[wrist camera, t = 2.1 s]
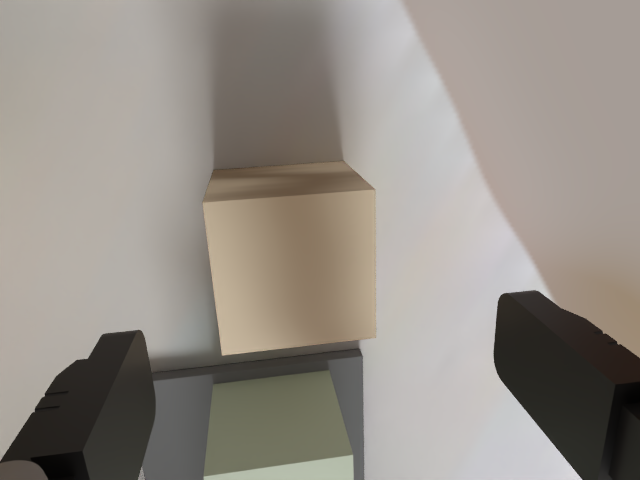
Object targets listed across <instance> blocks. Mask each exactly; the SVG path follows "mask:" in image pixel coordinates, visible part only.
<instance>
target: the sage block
mask: <svg viewBox="0 0 640 480" xmlns="http://www.w3.org/2000/svg"><path fill="white" fill-rule="evenodd" d="M203 477H204V480H354V469H353V453H352V449H351V445H350V442H349V438H348V435H347V431H346V428H345V424H344V421H343V417H342V414H341V410H340V407H339V403H338V399H337V396H336V392H335V389H334V385H333V382H332V378H331V375H330V371H329V370H325V371H317V372H309V373H301V374H293V375H284V376H276V377H268V378H260V379H252V380H243V381H235V382H227V383H219V384H213V390H212V400H211V409H210V419H209V428H208V438H207V448H206V457H205V467H204V476H203Z"/></svg>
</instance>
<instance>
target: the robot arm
mask: <svg viewBox="0 0 640 480" xmlns="http://www.w3.org/2000/svg"><path fill="white" fill-rule="evenodd" d="M494 363H495V367H496V371H497V373H498V375H499V377H500V379H501V381H502V382H503V383H504V384H505V386H506V387H507V388H508V389H509V390H510V392H511V393H512V394H513V395H514V397H515V398H516V399H517V400H518V401H519V403H520V404H521V405H522V406H523V408H524V409H525V410H526V411H527V412H528V414H529V415H530V416H531V417H532V419H533V420H534V421H535V422H536V423H537V425H538V426H539V427H540V428H541V430H542V431H543V432H544V433H545V434H546V436H547V437H548V438H549V439H550V441H551V442H552V443H553V444H554V445H555V447H556V448H557V449H558V450H559V452H560V453H561V454H562V455H563V456H564V458H565V459H566V460H567V461H568V463H569V464H570V465H571V466H572V467H573V469H574V470H575V471H576V472H577V474H578V475H579V476H580V477H581V478H582V480H640V358H639V357H637V356H636V355H635V354H633V353H632V352H631V351H629V350H628V349H626V348H625V347H623V346H622V345H621V344H620V345H618V344H617V341H615V340H614V339H613V338H611V337H610V336H609V335H607V334H603V332H602V330H600V329H599V328H598V327H596V326H595V325H593V324H592V323H591V322H589V321H588V320H587V319H585V318H583V317H580V316H578V315H576V314H573V313H571V312H569V311H566V310H564V309H561V308H560V307H559V306H557V305H556V304H555V303H553V302H552V301H551V300H549V299H548V298H547V297H545V296H544V295H543V294H541V293H540V292H538V291H536V290H533V291H523V292H514V293H504V294H502V295H501V296H500V298H499V301H498V307H497V318H496V330H495V342H494ZM155 414H156V397H155V389H154V384H153V379H152V373H151V368H150V363H149V357H148V352H147V347H146V342H145V337H144V335H143V333H142V331H141V330H135V331H126V332H116V333H106V334H103V335H102V336H101V337H100V339H99V341H98V342H97V344H96V346H95V348H94V349H93V351H92V353H91V354H90V356H89V358H88V359H82V360H76V361H75V362H74V363H72V364H71V365H70V366H69V367H67V368H66V369H65V370H64V371H62V372H61V373H60V374H58V375H57V376H56V377H55V379H54V380H53V382H52V384H51V385H50V387H49V388H48V390H47V391H46V393H45V397H42V399H41V400H40V402H39V403H38V405H37V406H36V408H35V412H33V413H32V414H31V415H30V417H29V418H28V420H27V421H26V423H25V425H24V426H23V428H22V429H21V431H20V432H19V434H18V435H17V437H16V438H15V440H14V441H13V443H12V444H11V446H10V447H9V449H8V450H7V452H6V453H5V455H4V456H3V458H2V459H1V461H0V480H138V477H139V473H140V470H141V467H142V463H143V460H144V456H145V453H146V449H147V446H148V442H149V439H150V435H151V432H152V428H153V425H154V421H155Z"/></svg>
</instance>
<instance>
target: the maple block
mask: <svg viewBox="0 0 640 480" xmlns="http://www.w3.org/2000/svg"><path fill="white" fill-rule="evenodd" d="M202 203H203V211H204V219H205V227H206V235H207V242H208V250H209V258H210V266H211V274H212V281H213V289H214V297H215V305H216V313H217V320H218V328H219V336H220V344H221V352H222V356H223V355H232V354H240V353H249V352H258V351H266V350H275V349H284V348H292V347H301V346H310V345H318V344H327V343H336V342H344V341H353V340H362V339H370V338H376V216H375V189H374V188H373V187H372V186H371V185H370V184H369V183H368V182H367V181H365V180H364V179H363V178H362V177H361V176H360V175H359V174H358V173H357V172H355V171H354V170H353V169H352V168H351V167H350V166H349V165H348V164H346V163H345V162H344V161H336V162H321V163H307V164H292V165H278V166H263V167H249V168H234V169H220V170H213V173H212V176H211V179H210V182H209V185H208V188H207V191H206V194H205V197H204V199H203V202H202Z"/></svg>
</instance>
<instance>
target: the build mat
mask: <svg viewBox="0 0 640 480" xmlns="http://www.w3.org/2000/svg"><path fill="white" fill-rule="evenodd" d="M325 370H329V371H330V375H331V378H332V382H333V385H334V389H335V392H336V396H337V399H338V403H339V407H340V410H341V414H342V417H343V421H344V424H345V428H346V431H347V435H348V438H349V442H350V445H351V449H352V453H353V469H354V480H364V429H363V356H362V354H361V351H360V349H354V350H346V351H337V352H329V353H320V354H312V355H303V356H294V357H286V358H277V359H269V360H260V361H252V362H243V363H235V364H226V365H218V366H209V367H201V368H192V369H184V370H175V371H166V372H158V373H152V379H153V384H154V389H155V397H156V414H155V421H154V425H153V428H152V432H151V435H150V439H149V442H148V446H147V449H146V453H145V456H144V460H143V463H142V466H143V471H144V476H145V480H204V477H203V476H204V467H205V457H206V448H207V438H208V428H209V419H210V409H211V400H212V390H213V384H219V383H227V382H235V381H243V380H252V379H260V378H268V377H276V376H284V375H293V374H301V373H309V372H317V371H325Z"/></svg>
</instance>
